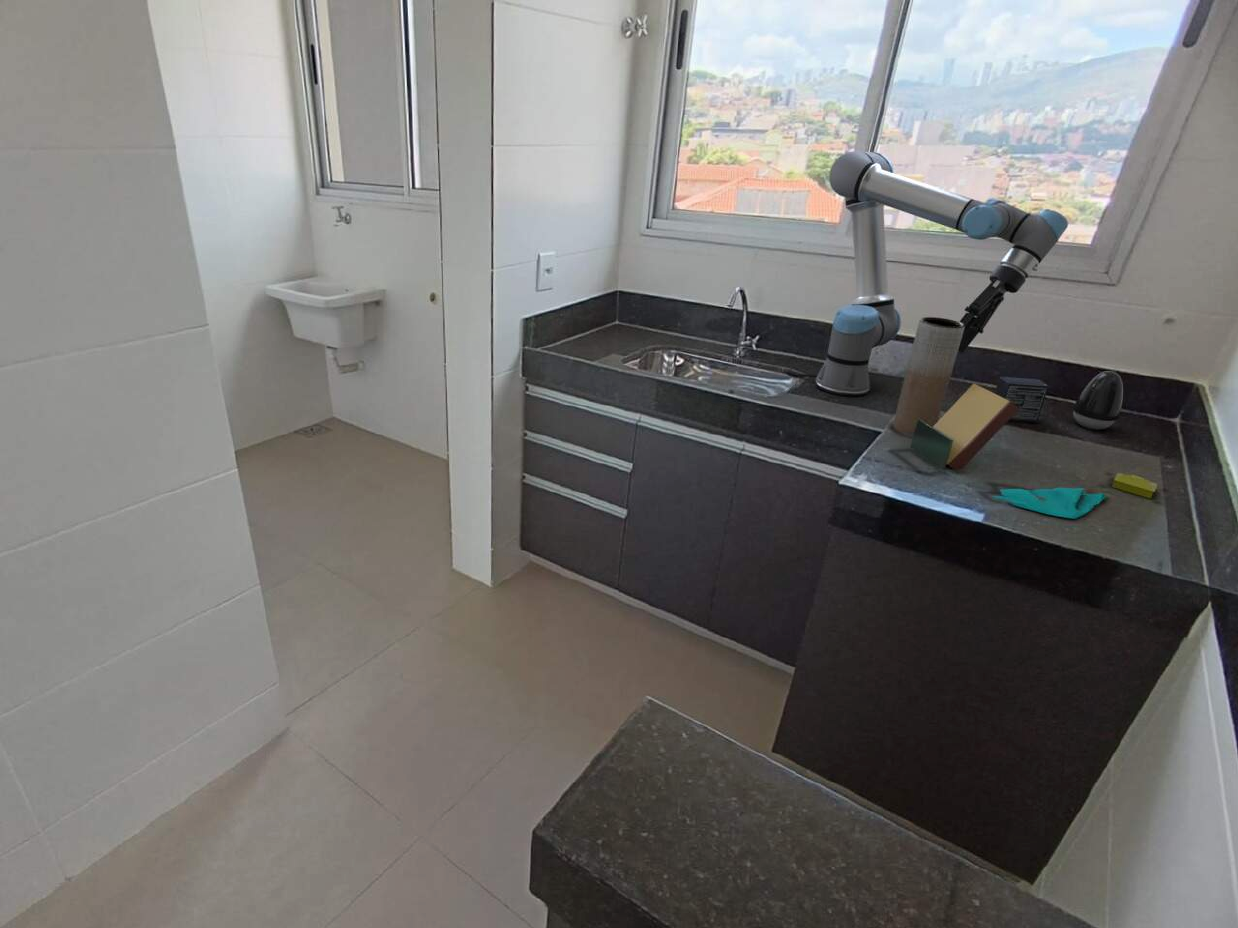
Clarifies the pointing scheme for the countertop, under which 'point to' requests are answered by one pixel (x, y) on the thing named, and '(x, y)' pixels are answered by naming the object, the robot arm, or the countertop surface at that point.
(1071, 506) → the cloth
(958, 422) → the book
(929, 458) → the bookend
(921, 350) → the vase
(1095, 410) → the black rounded dome
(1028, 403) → the small box
